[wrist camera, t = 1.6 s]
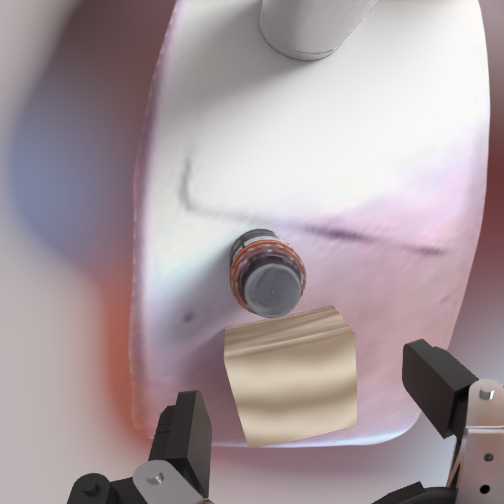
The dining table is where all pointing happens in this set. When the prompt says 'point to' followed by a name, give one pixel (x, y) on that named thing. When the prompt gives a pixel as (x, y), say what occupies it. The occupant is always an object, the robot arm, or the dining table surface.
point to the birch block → (292, 376)
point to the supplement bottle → (266, 274)
